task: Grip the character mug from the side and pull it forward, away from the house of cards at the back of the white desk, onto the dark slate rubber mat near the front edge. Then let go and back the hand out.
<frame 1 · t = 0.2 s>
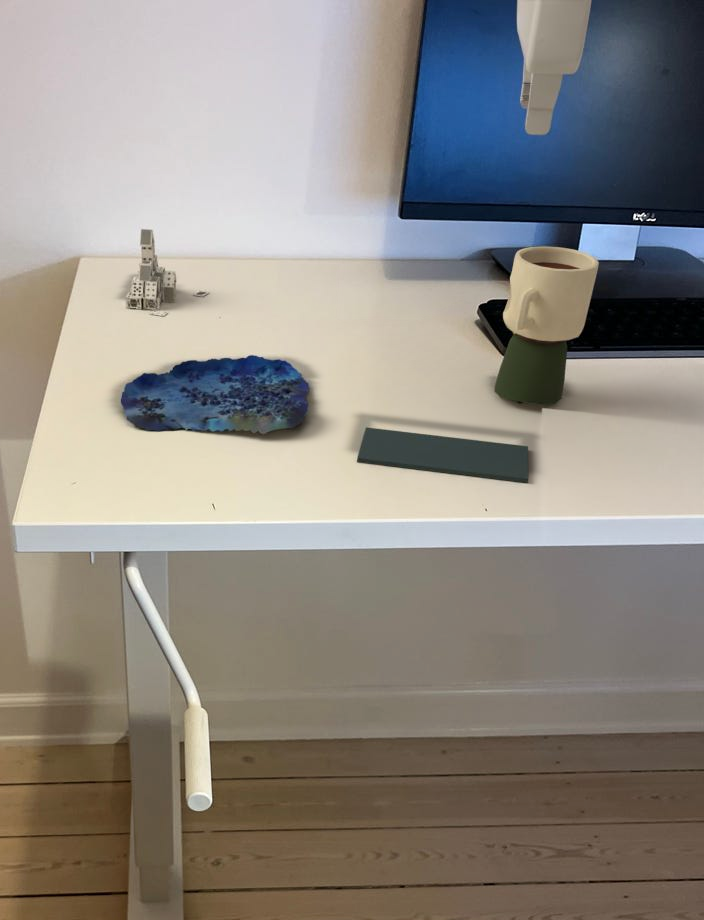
hand: (533, 119, 79), 24 cm above the table, tool pointing down, fingers open, 8 cm apart
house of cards: (167, 304, 113), on the table
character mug: (526, 400, 94), on the table
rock: (217, 406, 92), on the table
mat: (443, 456, 84), on the table
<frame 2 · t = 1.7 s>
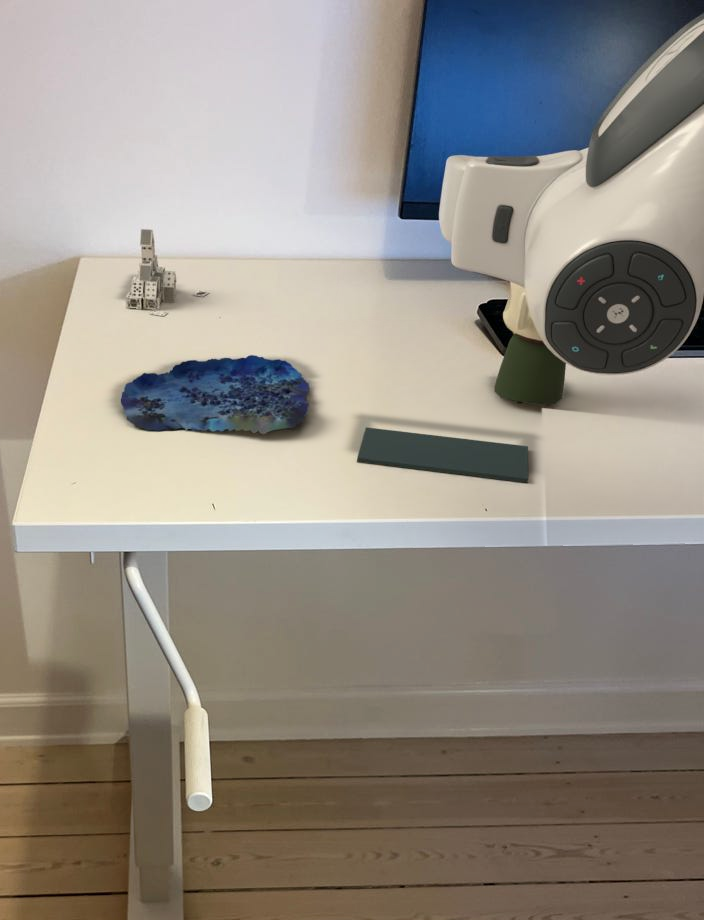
hand: (589, 177, 71), 22 cm above the table, tool horizontal, fingers open, 8 cm apart
nothing on the table moved.
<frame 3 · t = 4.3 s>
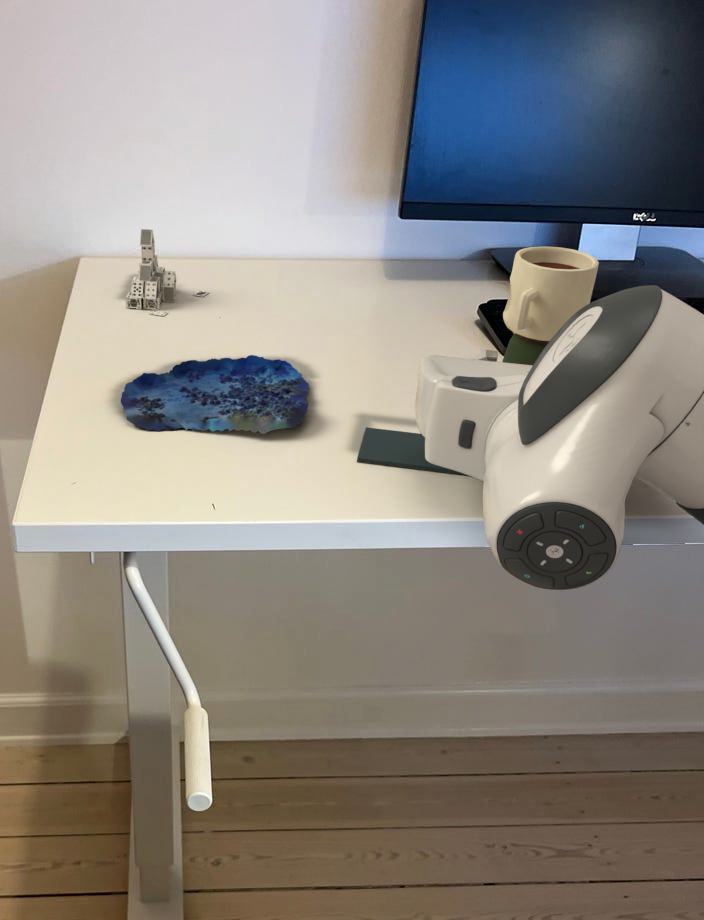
hand: (545, 364, 83), 7 cm above the table, tool horizontal, fingers open, 8 cm apart
nothing on the table moved.
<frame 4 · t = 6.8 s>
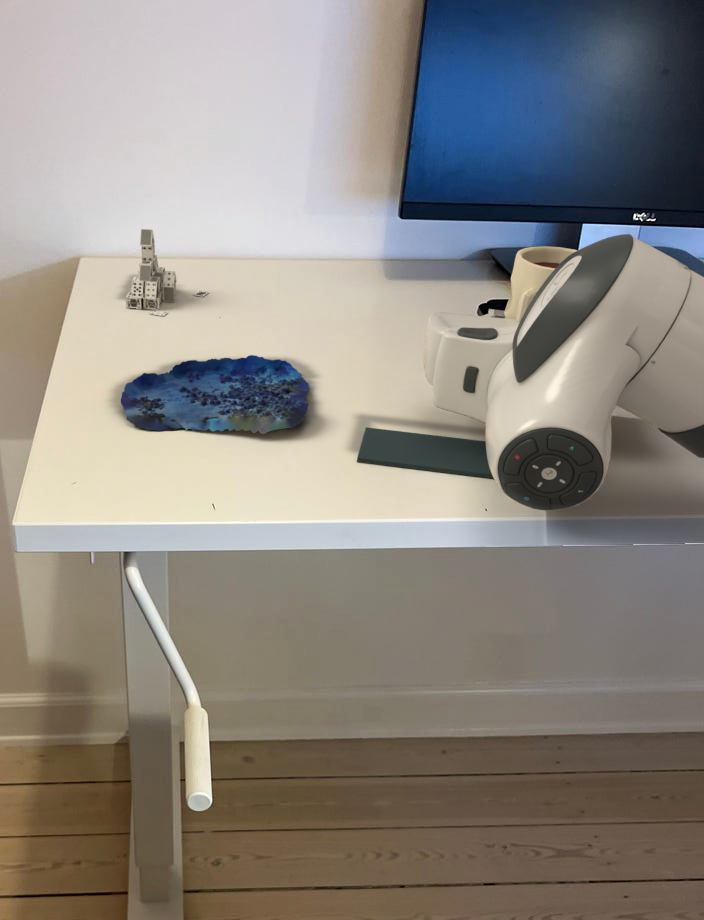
hand: (541, 322, 90), 7 cm above the table, tool horizontal, fingers closed on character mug, 7 cm apart
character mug: (526, 400, 94), on the table, touching gripper
everything else where it was.
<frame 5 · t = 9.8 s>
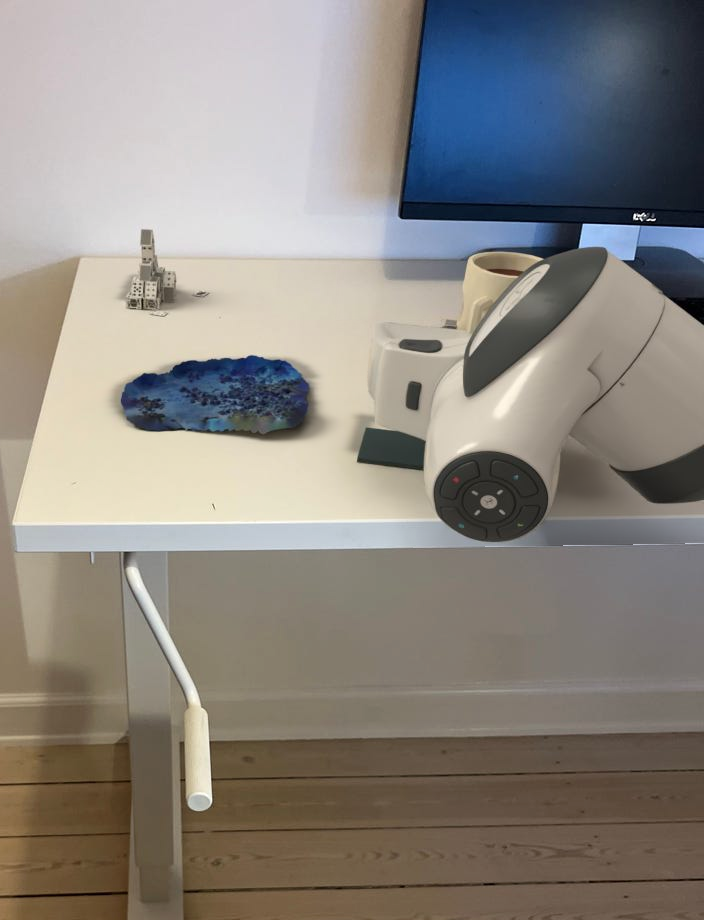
hand: (497, 333, 84), 9 cm above the table, tool horizontal, fingers closed on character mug, 7 cm apart
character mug: (482, 416, 88), point 1 cm above the table, touching gripper
everything else where it was.
when the fingers open (7 cm above the table, at t = 12.8 s): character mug stays where it is, resting on mat.
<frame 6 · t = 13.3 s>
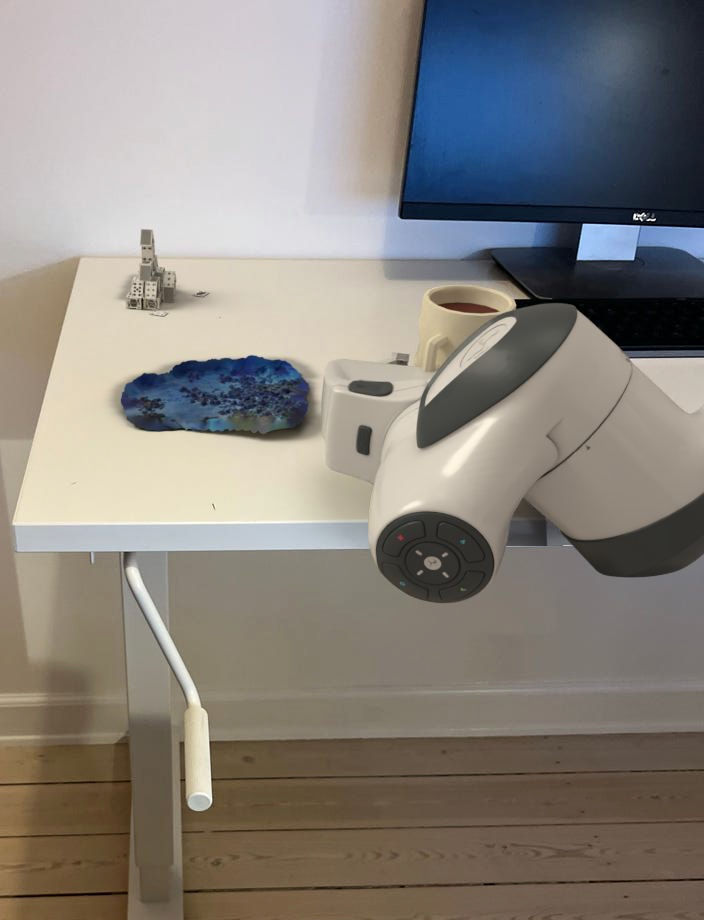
hand: (457, 367, 81), 7 cm above the table, tool horizontal, fingers open, 8 cm apart
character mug: (443, 454, 84), resting on mat
everything else where it was.
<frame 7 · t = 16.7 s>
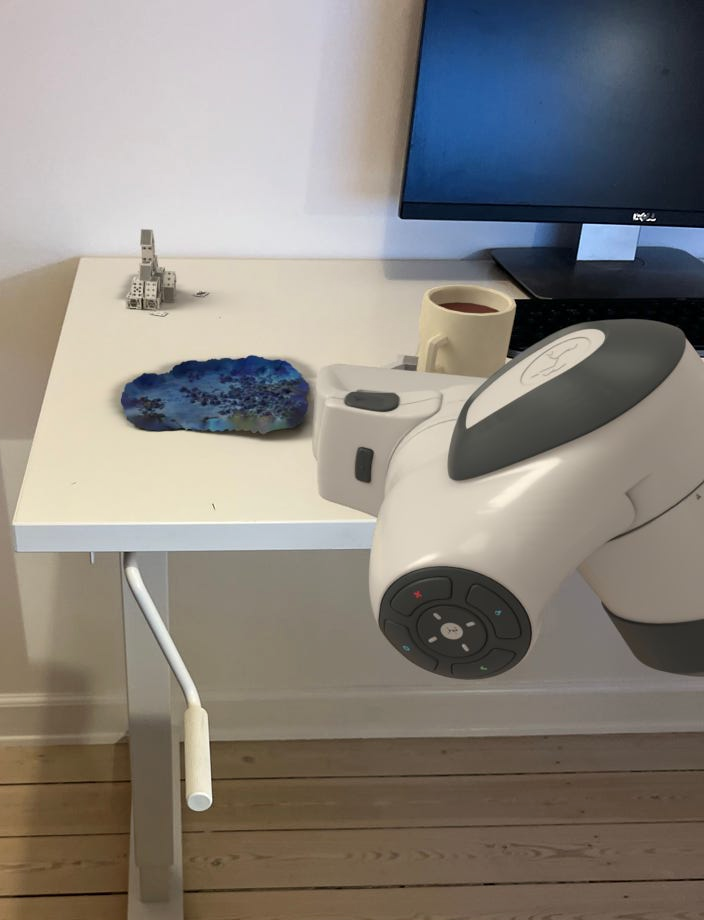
hand: (476, 372, 68), 12 cm above the table, tool horizontal, fingers open, 8 cm apart
nothing on the table moved.
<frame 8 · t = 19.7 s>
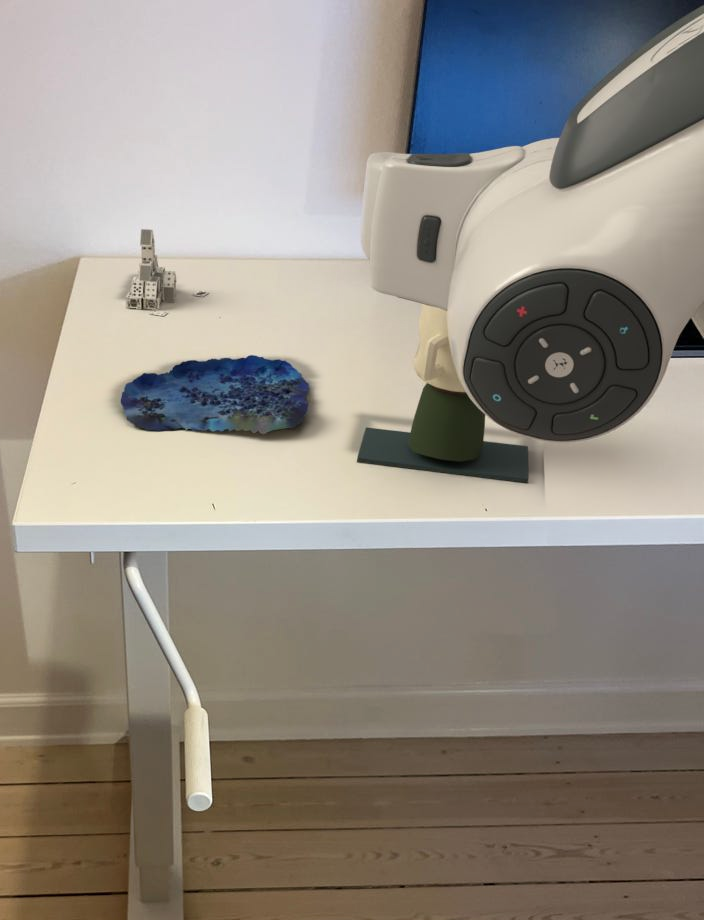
hand: (544, 176, 59), 25 cm above the table, tool horizontal, fingers open, 8 cm apart
nothing on the table moved.
at the end: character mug inside the target area on the mat (0.1 cm from its centre), point 0.2 cm above the mat's base; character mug tilted 0°; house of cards moved 0.2 cm from its start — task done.
